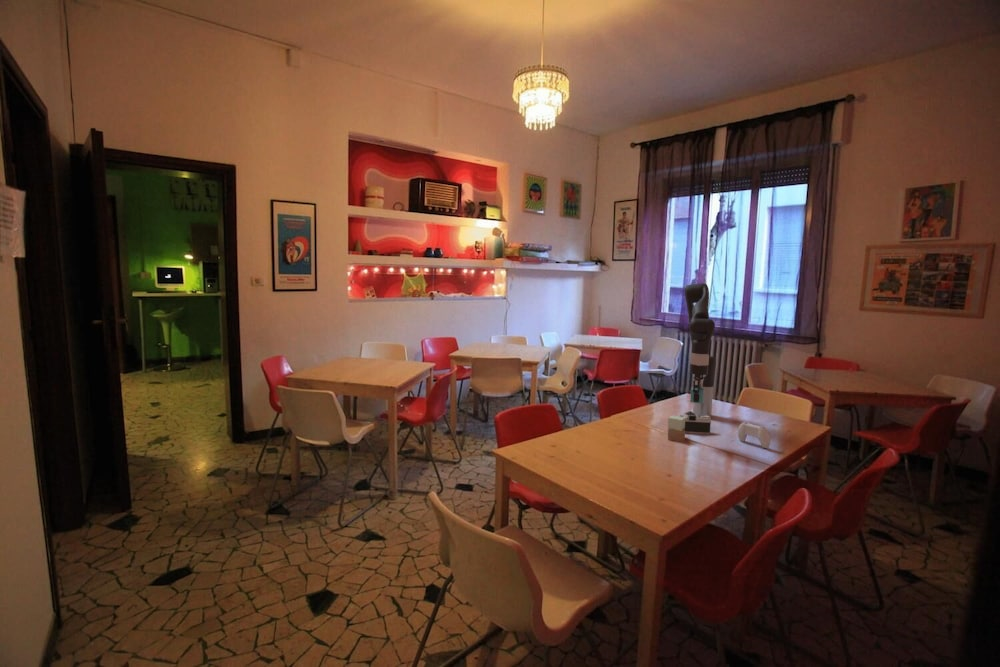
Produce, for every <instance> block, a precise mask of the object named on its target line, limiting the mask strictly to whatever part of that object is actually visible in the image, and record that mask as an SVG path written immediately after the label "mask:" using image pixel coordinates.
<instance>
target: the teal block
mask: <svg viewBox="0 0 1000 667" xmlns="http://www.w3.org/2000/svg"><path fill="white" fill-rule="evenodd" d="M695 390H698V389H695ZM693 400H694V393H693V386H692V388H690V401H689V402H690V403H692V404H693V403H699V404H702V403H703V402H704V388H701V389H700V394H699V402H694V401H693Z"/></svg>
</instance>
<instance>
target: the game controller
mask: <svg viewBox="0 0 1000 667" xmlns="http://www.w3.org/2000/svg"><path fill="white" fill-rule="evenodd" d="M747 436H751V437H755V438H757V439H758V440H759V443H760V446H761V447H762V449H765V448H766V449H769V448H770V446H771V436H770V433H769V431H768V429H767V428H766V427H765V426H762V425H755V424H751V423H749V422H746V421H743V422H741V423H740V424H739V426H738V428H737V438H738V440H739V441H740V442H742V443H743V442H746V439H747ZM766 449H765V450H766Z"/></svg>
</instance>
